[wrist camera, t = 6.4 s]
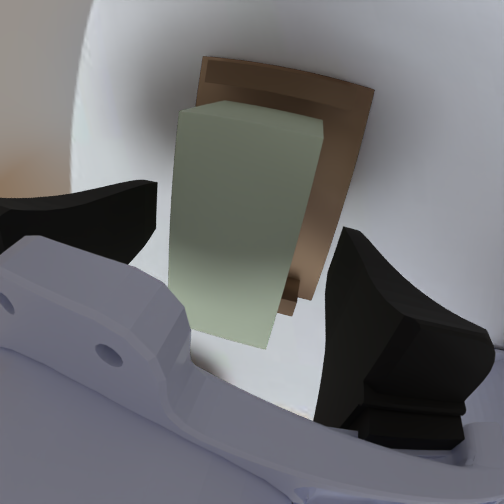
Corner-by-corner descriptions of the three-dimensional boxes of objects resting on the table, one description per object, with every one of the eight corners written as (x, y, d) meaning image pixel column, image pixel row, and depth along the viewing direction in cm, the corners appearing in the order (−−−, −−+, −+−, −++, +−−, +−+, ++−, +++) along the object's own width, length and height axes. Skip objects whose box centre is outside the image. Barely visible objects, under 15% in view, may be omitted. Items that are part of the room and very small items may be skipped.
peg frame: (312, 294, 19) (309, 323, 17) (184, 261, 20) (167, 285, 17) (372, 89, 13) (382, 90, 10) (207, 56, 13) (186, 53, 11)
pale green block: (281, 282, 16) (265, 349, 12) (203, 262, 16) (168, 321, 12) (322, 119, 12) (323, 138, 8) (224, 100, 12) (179, 111, 8)
